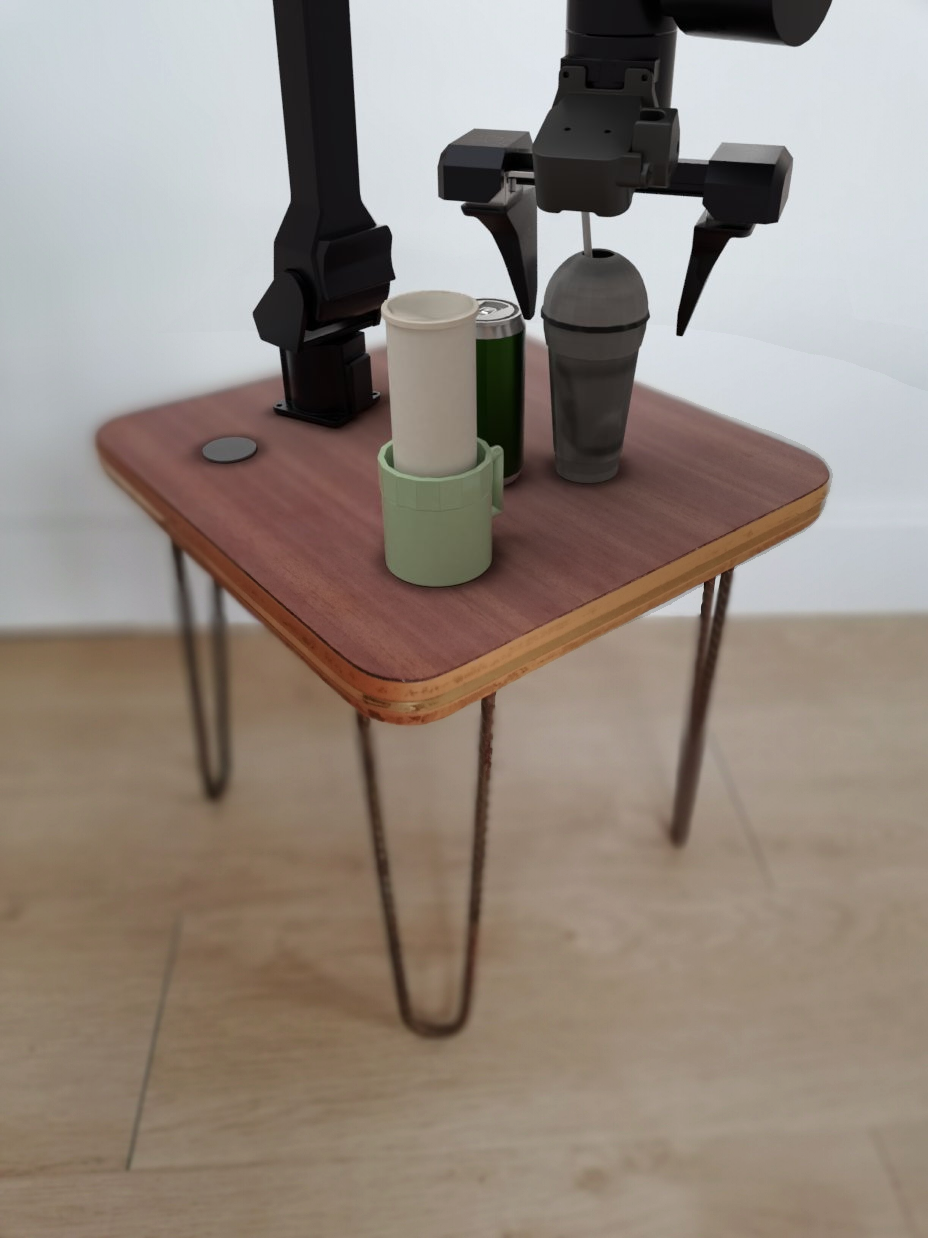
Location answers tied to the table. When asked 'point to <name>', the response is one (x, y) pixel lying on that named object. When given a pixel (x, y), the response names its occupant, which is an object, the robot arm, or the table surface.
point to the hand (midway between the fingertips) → (603, 325)
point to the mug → (440, 519)
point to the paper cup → (432, 382)
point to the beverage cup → (592, 357)
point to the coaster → (229, 450)
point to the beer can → (501, 380)
